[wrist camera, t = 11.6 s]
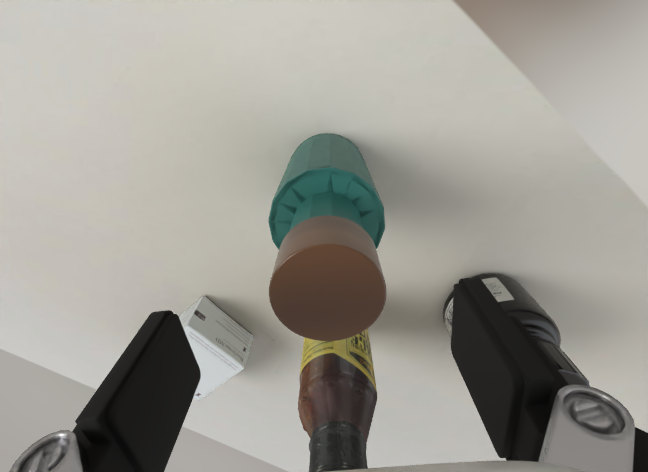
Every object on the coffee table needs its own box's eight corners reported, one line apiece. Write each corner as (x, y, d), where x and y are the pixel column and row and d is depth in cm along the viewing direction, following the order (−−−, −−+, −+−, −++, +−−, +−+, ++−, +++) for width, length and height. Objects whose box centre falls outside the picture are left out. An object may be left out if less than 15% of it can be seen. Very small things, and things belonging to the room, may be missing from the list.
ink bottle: (471, 256, 35) (537, 340, 24) (543, 284, 36) (637, 375, 25) (425, 326, 38) (462, 425, 28) (491, 348, 40) (552, 451, 29)
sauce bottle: (368, 324, 38) (403, 542, 20) (314, 332, 39) (302, 552, 21) (358, 275, 36) (388, 480, 18) (300, 286, 36) (273, 493, 18)
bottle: (283, 138, 30) (242, 200, 15) (361, 128, 29) (394, 182, 15) (296, 210, 33) (271, 320, 18) (367, 202, 32) (399, 307, 18)
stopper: (277, 202, 18) (257, 252, 13) (367, 191, 18) (383, 237, 13) (292, 278, 20) (280, 346, 15) (373, 270, 20) (389, 336, 15)
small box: (256, 335, 39) (246, 370, 35) (211, 367, 42) (197, 404, 37) (204, 293, 37) (186, 324, 32) (160, 329, 39) (137, 364, 34)
